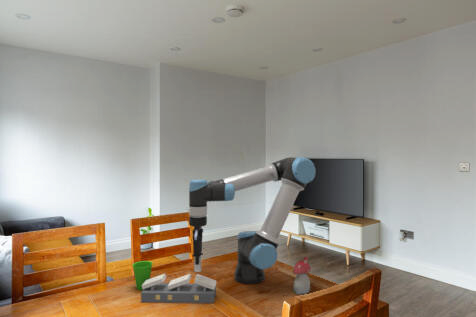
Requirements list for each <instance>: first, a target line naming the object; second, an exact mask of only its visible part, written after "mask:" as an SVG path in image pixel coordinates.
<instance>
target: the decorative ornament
mask: <svg viewBox="0 0 476 317" xmlns="http://www.w3.org/2000/svg"><path fill="white" fill-rule="evenodd" d="M308 261H309V257H308V256H304V257H303V259H302V260H299V261H297V262H296V263H295V264H294V266H293V268H292V273H293V274H294V275H296V276H295V278H294V281H293V287H292V291H293V293H294V294H295V295H299V296H300V295H302V296H303V294H304V295H306V294H307V293H309V292H310V290H311V281H310V278H309V275H308V274H309V273H310V272H311V271H312V270H311V265H310V264H309V263H308Z"/></svg>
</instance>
